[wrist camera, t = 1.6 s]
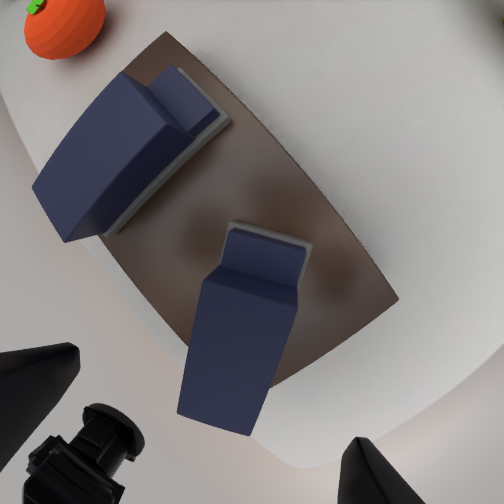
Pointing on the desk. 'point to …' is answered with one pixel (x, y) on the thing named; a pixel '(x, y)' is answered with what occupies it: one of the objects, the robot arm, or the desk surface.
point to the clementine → (62, 26)
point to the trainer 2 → (242, 326)
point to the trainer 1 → (125, 151)
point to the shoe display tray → (248, 211)
